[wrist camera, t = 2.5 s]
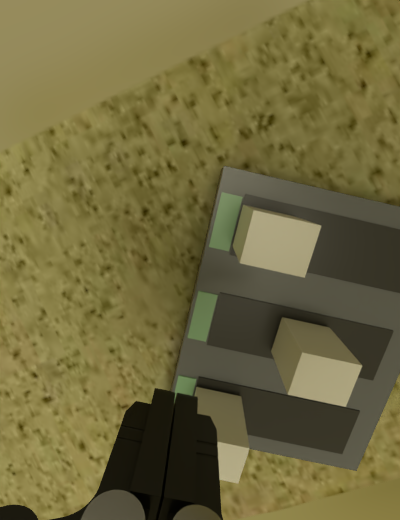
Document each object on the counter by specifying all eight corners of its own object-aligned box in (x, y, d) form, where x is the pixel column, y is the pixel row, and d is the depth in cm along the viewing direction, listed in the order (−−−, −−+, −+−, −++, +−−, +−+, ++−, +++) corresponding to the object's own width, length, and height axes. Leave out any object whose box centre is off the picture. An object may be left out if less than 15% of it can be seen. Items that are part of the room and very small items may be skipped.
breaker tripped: (329, 327, 18) (362, 365, 14) (317, 361, 19) (345, 406, 15) (282, 317, 18) (302, 352, 14) (271, 351, 19) (287, 394, 15)
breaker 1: (241, 396, 20) (249, 448, 16) (232, 426, 20) (238, 483, 16) (196, 386, 19) (193, 436, 16) (188, 417, 20) (184, 472, 16)
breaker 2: (295, 216, 17) (321, 225, 13) (282, 257, 17) (304, 277, 13) (242, 204, 17) (253, 210, 13) (232, 245, 17) (239, 263, 13)
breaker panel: (427, 216, 20) (467, 222, 17) (338, 436, 24) (357, 472, 21) (221, 168, 19) (224, 165, 16) (168, 400, 24) (162, 432, 21)
